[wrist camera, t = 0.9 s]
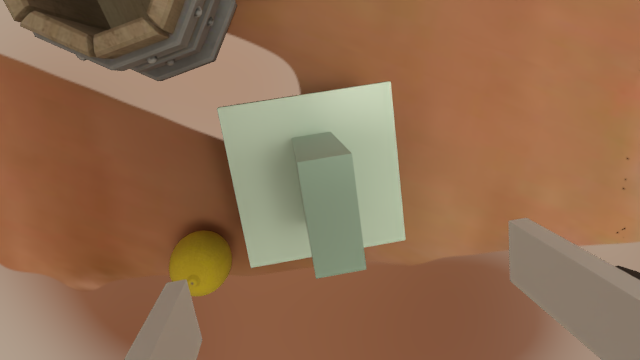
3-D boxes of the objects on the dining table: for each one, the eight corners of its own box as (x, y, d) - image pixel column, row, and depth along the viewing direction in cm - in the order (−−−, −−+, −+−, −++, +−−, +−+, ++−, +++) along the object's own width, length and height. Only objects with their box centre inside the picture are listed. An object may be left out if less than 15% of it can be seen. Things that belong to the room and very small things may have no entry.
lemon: (176, 223, 40) (151, 258, 32) (231, 215, 40) (220, 249, 32) (186, 272, 41) (165, 316, 33) (239, 264, 41) (230, 307, 34)
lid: (220, 106, 30) (189, 121, 20) (383, 81, 31) (437, 82, 21) (252, 257, 34) (240, 338, 23) (398, 231, 35) (451, 298, 24)
